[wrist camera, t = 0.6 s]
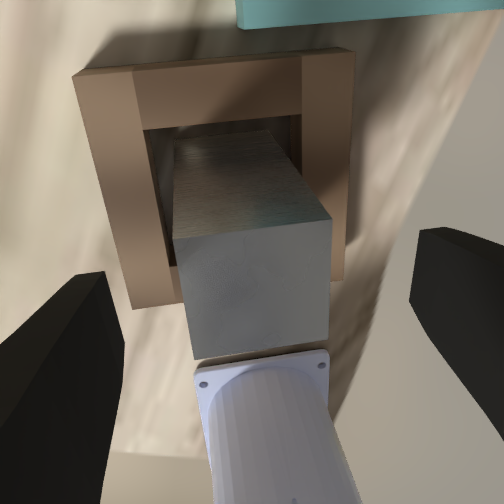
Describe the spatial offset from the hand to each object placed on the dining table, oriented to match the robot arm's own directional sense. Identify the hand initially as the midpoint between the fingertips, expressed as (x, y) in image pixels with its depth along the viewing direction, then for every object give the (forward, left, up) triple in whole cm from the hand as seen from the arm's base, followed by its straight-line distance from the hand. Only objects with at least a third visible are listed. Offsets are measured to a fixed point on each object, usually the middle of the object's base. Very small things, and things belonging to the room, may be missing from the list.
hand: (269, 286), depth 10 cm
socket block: (-1, 0, -10) cm, 10 cm away
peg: (-1, 0, -10) cm, 10 cm away
